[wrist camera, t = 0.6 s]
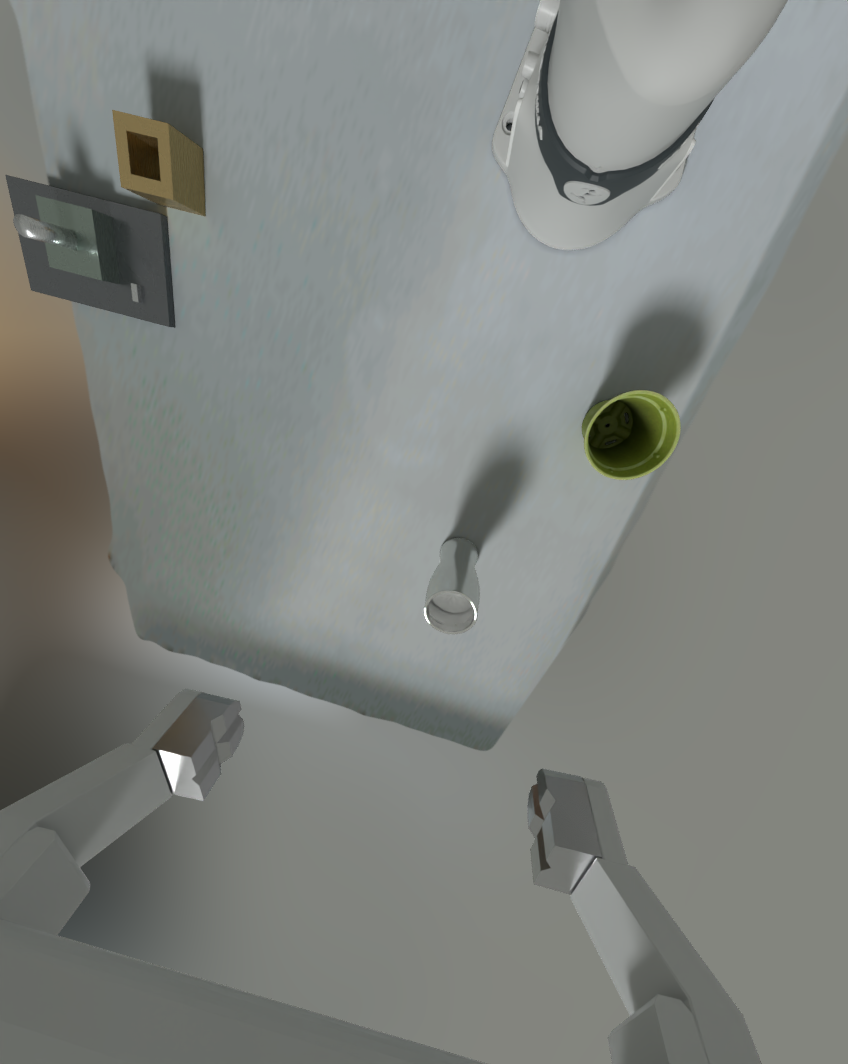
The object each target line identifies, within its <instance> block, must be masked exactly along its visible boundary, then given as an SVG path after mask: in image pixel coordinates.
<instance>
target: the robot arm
mask: <svg viewBox="0 0 848 1064" xmlns="http://www.w3.org/2000/svg"><path fill="white" fill-rule="evenodd" d="M787 1H788V0H540V3H539V7H538V10H537V14H536V19H535V28H534V30H533V33H532V35H531V38H530V41H529V43H528V46H527V49H526V51H525V54H524V56H523V59H522V62H521V64H520V67H519V69H518V72H517V75H516V77H515V80H514V83H513V85H512V88H511V90H510V93H509V96H508V98H507V101H506V103H505V106H504V109H503V111H502V114H501V117H500V119H499V122H498V124H497V127H496V130H495V132H494V136H493V140H492V152H493V155H494V157H495V159H496V161H497V162H498V164H499V165H500V167H501V168H502V170H503V171H504V172H505V174H506V175H507V178H508V180H509V184H510V188H511V193H512V197H513V202H514V205H515V208H516V211H517V213H518V215H519V217H520V219H521V221H522V223H523V224H524V226H525V227H526V229H527V230H528V231H529V232H530V233H531V234H532V235H533V236H534V237H535V238H536V239H537V240H539V241H540V242H542V243H543V244H545V245H547V246H550V247H553V248H556V249H561V250H579V249H584V248H588V247H591V246H593V245H596V244H598V243H600V242H602V241H604V240H606V239H607V238H609V237H611V236H612V235H613V234H615V233H616V232H617V231H619V230H620V229H621V228H622V227H623V226H624V225H625V224H626V223H627V222H628V221H629V220H630V219H631V218H632V217H633V216H635V215H636V214H637V213H638V212H639V211H640V210H642V209H643V208H645V207H647V206H650V205H652V204H654V203H656V202H658V201H660V200H662V199H664V198H666V197H667V196H669V195H670V194H671V193H672V192H673V191H674V190H675V188H676V187H677V186H678V184H679V182H680V180H681V178H682V174H683V170H684V166H685V162H686V158H687V156H688V155H689V154H690V152H691V151H692V149H693V147H694V145H695V142H696V140H695V139H694V134H695V131H696V127H697V126H698V125H699V123H700V121H701V120H702V118H703V117H704V115H705V114H706V112H707V110H708V109H709V107H710V106H711V104H712V102H713V100H714V98H715V97H716V96H717V94H718V93H719V92H720V91H721V90H722V89H723V88H724V86H725V85H726V84H727V83H728V82H729V81H730V80H731V78H732V77H733V76H734V75H735V74H736V73H737V72H738V70H739V69H740V68H741V67H742V66H743V65H744V64H745V62H746V61H747V60H748V59H749V58H750V57H751V55H752V54H753V53H754V52H755V50H756V49H757V48H758V46H759V45H760V44H761V43H762V41H763V40H764V38H765V37H766V36H767V34H768V33H769V31H770V30H771V28H772V27H773V25H774V23H775V22H776V20H777V18H778V17H779V15H780V13H781V12H782V10H783V8H784V6H785V4H786V3H787ZM508 123H512V129H511V131H508V130H507V129H506V126H507V124H508ZM240 711H241V705H240V701H237V700H233V699H229V698H224V697H219V696H215V695H210V694H207V693H204V692H199V691H195V690H189V689H184V690H183V691H181V692H179V693H178V694H177V695H176V696H175V697H174V698H173V699H172V701H170V703H169V704H168V705H167V706H166V707H165V708H164V709H163V710H162V711H161V712H160V713H159V715H158V716H157V717H156V718H155V719H154V720H153V721H152V722H151V723H150V724H149V725H148V727H147V728H146V729H145V730H144V731H143V732H142V733H141V734H140V735H139V736H138V738H137V739H136V740H135V741H134V742H133V743H132V744H124V745H122V746H120V747H118V748H116V749H114V750H113V751H111V752H109V753H107V754H105V755H103V756H101V757H100V758H98V759H96V760H94V761H92V762H90V763H88V764H86V765H85V766H83V767H81V768H79V769H77V770H75V771H73V772H71V773H70V774H68V775H66V776H64V777H62V778H60V779H58V780H57V781H55V782H53V783H51V784H49V785H47V786H45V787H43V788H42V789H40V790H38V791H36V792H34V793H32V794H30V795H29V796H27V797H25V798H23V799H21V800H19V801H17V802H16V803H14V804H12V805H10V806H8V807H6V808H4V809H3V810H1V811H0V1064H487V1063H484V1062H480V1061H477V1060H473V1059H470V1058H467V1057H464V1056H460V1055H457V1054H453V1053H450V1052H447V1051H443V1050H440V1049H437V1048H433V1047H430V1046H426V1045H423V1044H420V1043H416V1042H413V1041H410V1040H406V1039H403V1038H399V1037H396V1036H393V1035H390V1034H386V1033H383V1032H380V1031H376V1030H373V1029H370V1028H366V1027H363V1026H359V1025H356V1024H353V1023H349V1022H345V1021H343V1020H339V1019H336V1018H332V1017H329V1016H326V1015H322V1014H319V1013H316V1012H312V1011H309V1010H306V1009H302V1008H299V1007H296V1006H292V1005H289V1004H286V1003H282V1002H279V1001H276V1000H272V999H268V998H265V997H262V996H258V995H255V994H252V993H249V992H245V991H242V990H239V989H235V988H232V987H229V986H225V985H222V984H218V983H215V982H212V981H208V980H205V979H202V978H198V977H195V976H192V975H188V974H185V973H181V972H178V971H175V970H172V969H168V968H165V967H161V966H158V965H154V964H151V963H148V962H144V961H141V960H138V959H134V958H131V957H128V956H125V955H121V954H118V953H114V952H111V951H107V950H104V949H101V948H98V947H94V946H91V945H88V944H84V943H81V942H77V941H74V940H71V939H67V938H64V937H60V936H57V935H58V933H59V932H60V931H61V929H62V928H63V926H64V925H65V924H66V922H67V921H68V920H69V918H70V917H71V916H72V914H73V913H74V911H75V910H76V909H77V907H78V906H79V905H80V903H81V902H82V900H83V899H84V898H85V896H86V895H87V894H88V892H89V889H90V882H89V881H88V879H87V878H86V876H85V875H84V873H83V872H82V870H81V869H80V867H81V866H82V865H83V864H85V863H86V862H87V861H89V860H90V859H91V858H92V857H94V856H95V855H96V854H98V853H99V852H100V851H102V850H103V849H104V848H105V847H107V846H108V845H109V844H111V843H112V842H113V841H114V840H116V839H117V838H118V837H120V836H121V835H122V834H124V833H125V832H126V831H128V830H129V829H130V828H131V827H133V826H134V825H135V824H137V823H138V822H139V821H141V820H142V819H143V818H144V817H146V816H147V815H148V814H150V813H151V812H152V811H154V810H155V809H156V808H157V807H159V806H160V805H161V804H162V803H164V802H165V801H166V800H168V799H169V798H170V797H172V794H174V795H179V796H184V797H188V798H193V799H197V800H202V801H204V799H205V798H206V796H207V795H208V793H209V792H210V790H211V789H212V787H213V785H214V784H215V782H216V781H217V779H218V778H219V776H220V775H221V764H222V763H223V762H225V761H226V760H227V759H229V758H231V757H232V755H233V754H234V752H235V751H236V749H237V747H238V746H239V743H240V740H241V738H242V735H243V731H244V721H243V719H242V718H241V717H240V716H239V715H238V714H239V712H240ZM536 777H537V784H536V785H533V786H532V787H531V790H530V793H529V798H528V827H529V829H530V831H531V832H532V834H533V836H534V838H535V841H534V843H533V845H532V847H531V849H530V851H531V862H532V872H533V883H534V884H535V885H538V886H542V887H545V888H549V889H552V890H556V891H560V892H563V893H566V894H570V895H571V896H570V898H571V900H572V902H573V904H574V906H575V908H576V910H577V912H578V914H579V916H580V918H581V920H582V922H583V924H584V926H585V928H586V930H587V932H588V934H589V936H590V938H591V940H592V941H593V944H594V945H595V948H596V949H597V951H598V953H599V956H600V958H601V959H602V961H603V963H604V965H605V967H606V969H607V971H608V973H609V975H610V977H611V979H612V981H613V983H614V985H615V987H616V989H617V991H618V993H619V995H620V997H621V999H622V1001H623V1003H624V1005H625V1007H626V1009H627V1011H628V1013H629V1015H630V1017H628V1018H627V1019H626V1020H625V1021H623V1022H622V1023H621V1024H619V1025H618V1026H617V1027H616V1028H614V1029H613V1030H612V1032H611V1033H610V1035H609V1036H608V1041H609V1047H610V1053H611V1059H612V1064H762V1063H761V1061H760V1058H759V1055H758V1053H757V1050H756V1048H755V1045H754V1043H753V1040H752V1037H751V1035H750V1032H749V1030H748V1027H747V1025H746V1022H745V1019H744V1017H743V1014H742V1013H741V1012H740V1010H739V1009H738V1008H737V1006H736V1005H735V1004H734V1002H733V1001H732V999H731V998H730V997H729V995H728V994H727V993H726V991H725V990H724V988H723V987H722V986H721V984H720V983H719V981H718V980H717V979H716V977H715V976H714V975H713V973H712V972H711V971H710V969H709V968H708V966H707V965H706V964H705V962H704V961H703V960H702V958H701V957H700V955H699V954H698V953H697V951H696V950H695V949H694V947H693V946H692V944H691V943H690V942H689V940H688V939H687V938H686V936H685V935H684V933H683V932H682V931H681V929H680V928H679V927H678V925H677V924H676V923H675V921H674V920H673V918H672V917H671V916H670V914H669V913H668V911H667V910H666V909H665V908H664V906H663V905H662V903H661V902H660V901H659V899H658V898H657V896H656V895H655V894H654V892H653V891H652V890H651V888H650V887H649V885H648V884H647V883H646V881H645V880H644V879H643V877H642V876H641V874H640V873H639V872H638V871H637V869H636V868H635V867H634V866H630V865H628V862H627V859H626V855H625V852H624V848H623V844H622V841H621V837H620V834H619V831H618V827H617V823H616V820H615V816H614V812H613V809H612V805H611V802H610V798H609V795H608V791H607V788H606V786H605V785H604V783H602V782H601V781H596V780H592V779H588V778H583V777H580V776H576V775H571V774H566V773H561V772H556V771H551V770H546V769H540V770H539V771H538V773H537V776H536Z"/></svg>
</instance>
